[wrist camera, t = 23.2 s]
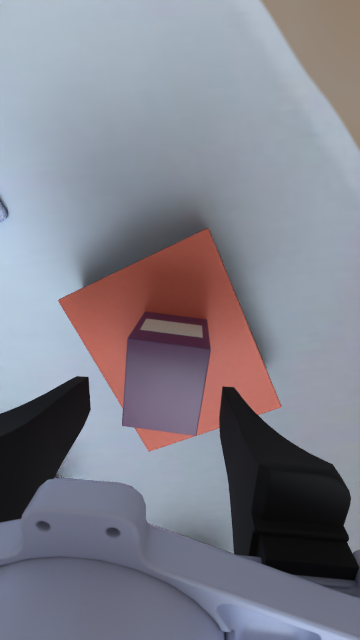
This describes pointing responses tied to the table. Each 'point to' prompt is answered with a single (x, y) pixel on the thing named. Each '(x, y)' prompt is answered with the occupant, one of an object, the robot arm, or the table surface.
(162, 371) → the juice box
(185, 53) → the table surface
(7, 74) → the table surface
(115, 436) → the table surface
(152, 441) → the lunchbox lid
